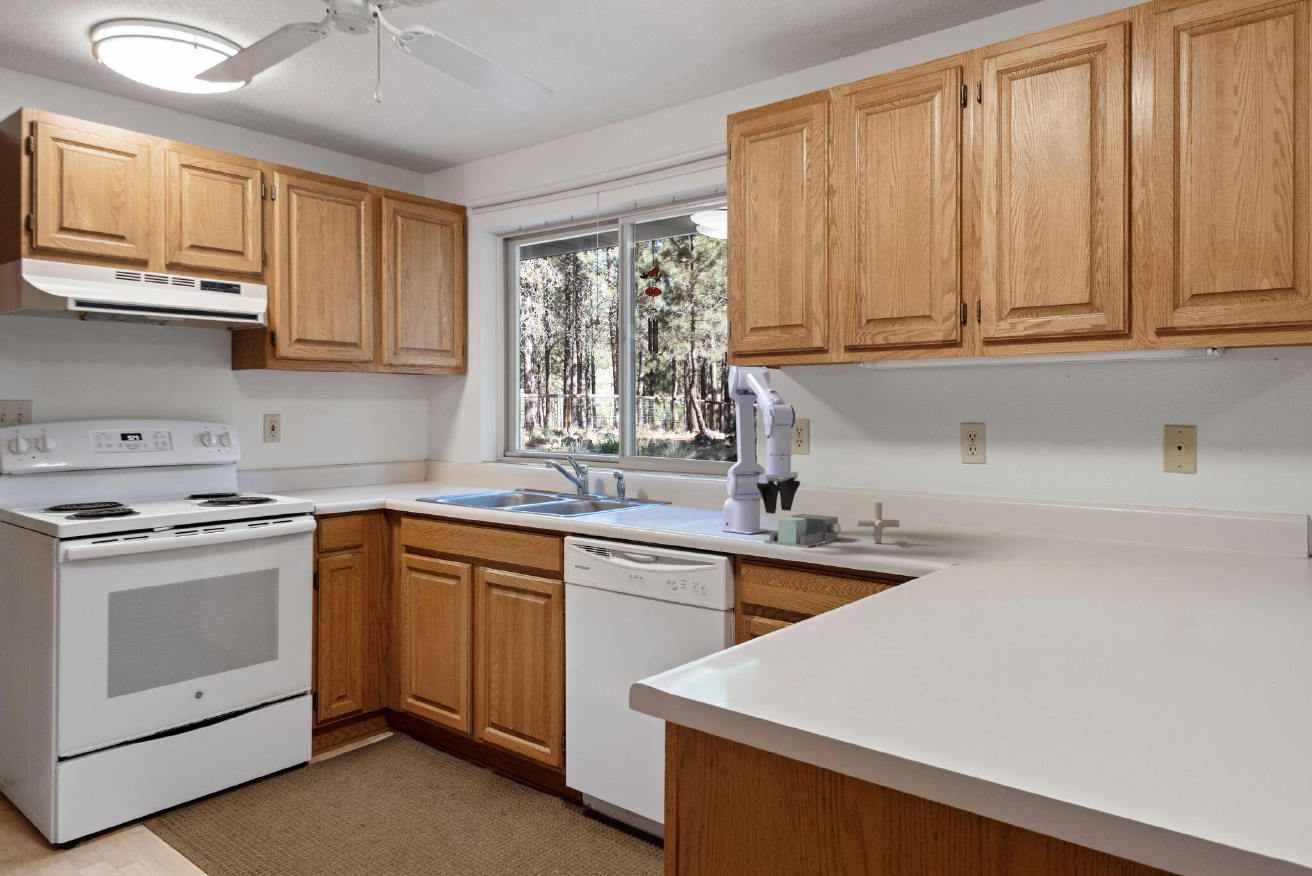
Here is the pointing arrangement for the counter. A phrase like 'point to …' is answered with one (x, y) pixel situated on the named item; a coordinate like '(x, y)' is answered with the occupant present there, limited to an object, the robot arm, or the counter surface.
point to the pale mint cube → (791, 529)
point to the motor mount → (813, 531)
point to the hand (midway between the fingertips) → (778, 511)
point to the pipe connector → (877, 522)
